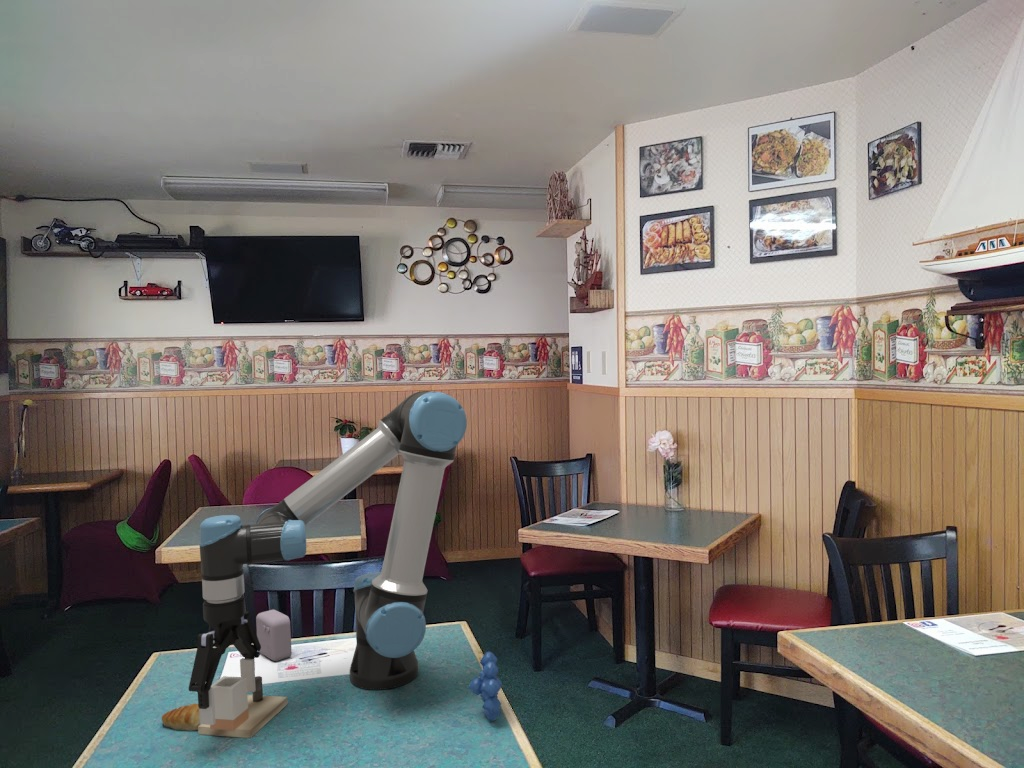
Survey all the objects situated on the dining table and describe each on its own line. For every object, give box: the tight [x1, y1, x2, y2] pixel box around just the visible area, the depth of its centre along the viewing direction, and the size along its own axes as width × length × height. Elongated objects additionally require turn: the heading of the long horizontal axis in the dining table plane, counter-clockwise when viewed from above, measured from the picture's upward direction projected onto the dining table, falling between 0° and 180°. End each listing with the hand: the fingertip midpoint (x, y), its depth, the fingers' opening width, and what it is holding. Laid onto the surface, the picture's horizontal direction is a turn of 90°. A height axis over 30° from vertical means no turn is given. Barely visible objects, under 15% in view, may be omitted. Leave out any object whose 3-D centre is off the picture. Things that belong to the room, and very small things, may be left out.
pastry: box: [161, 703, 201, 732], centre depth 147 cm, size 9×7×4 cm
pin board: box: [197, 675, 288, 739], centre depth 148 cm, size 11×14×6 cm
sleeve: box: [210, 675, 249, 730], centre depth 143 cm, size 5×5×8 cm
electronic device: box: [255, 608, 292, 662], centre depth 181 cm, size 10×5×10 cm, turn 43°
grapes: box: [468, 650, 504, 722], centre depth 146 cm, size 12×7×12 cm, turn 6°
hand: (229, 706), depth 143 cm, fingers open, 13 cm apart
